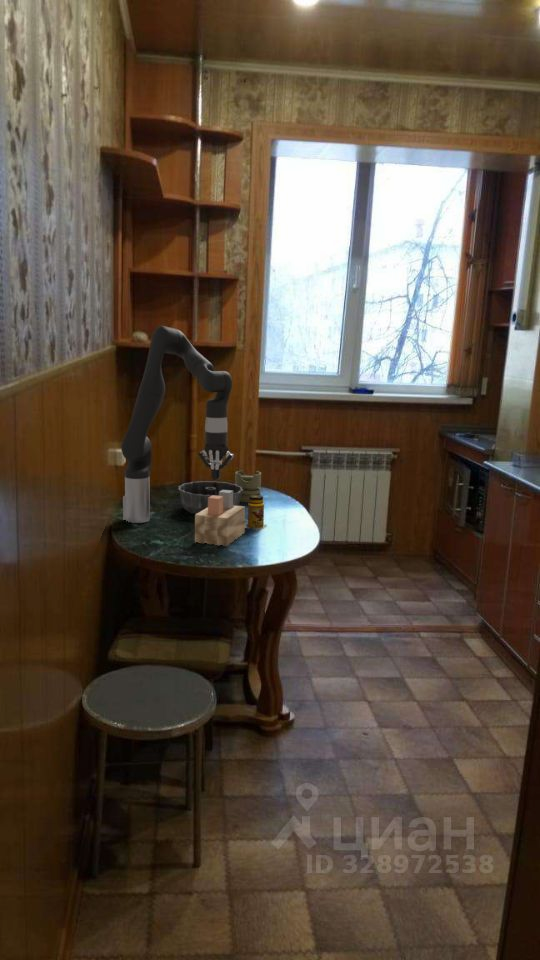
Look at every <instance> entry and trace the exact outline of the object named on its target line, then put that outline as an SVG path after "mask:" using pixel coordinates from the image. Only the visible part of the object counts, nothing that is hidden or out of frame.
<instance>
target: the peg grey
mask: <svg viewBox="0 0 540 960" xmlns="http://www.w3.org/2000/svg"><path fill="white" fill-rule="evenodd" d="M219 496H223V509H229V510H230V509H231V508H233V491H231V490H222V491H220V492H219Z"/></svg>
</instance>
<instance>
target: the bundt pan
mask: <svg viewBox="0 0 540 960" xmlns="http://www.w3.org/2000/svg"><path fill="white" fill-rule="evenodd" d="M222 490H231V491H233V505H235V506H240V503H241V502H240V498H241V493H242V492H243V490H242V487H240V486H237V485H236V484H235V483H230V482H225V481H217V480H213V481H207V480H205V481H203V480H201V481H191V482H186V483H182V484H181V485H178V491H179V495H180V496H179V497H180V503H181V506H182V508H183V509H184V510H185V511H187V512H189V513H190V514H193V515H194V514H197V513H199V512H201V511H202V510H204V509H206V508H208V498H209V497H210V496H212V495H214V496H219V492H220V491H222Z"/></svg>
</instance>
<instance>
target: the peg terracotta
mask: <svg viewBox="0 0 540 960" xmlns="http://www.w3.org/2000/svg"><path fill="white" fill-rule="evenodd" d="M222 514H223V496H214V495H212V496H210V497H209V498H208V515H214V516H220V515H222Z"/></svg>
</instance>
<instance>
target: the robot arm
mask: <svg viewBox="0 0 540 960" xmlns="http://www.w3.org/2000/svg"><path fill="white" fill-rule="evenodd" d="M147 354H148V355H147V361H146V364H145V367H144V368H145V369H144V372H143V377H142V380H141V383H140V385H139V389H138V393H137V397H136V401H135V404H134V406H133V407H134V408H133V411H132V415H131V419H130V423H129V425H128V428H127V431H126V433H125V435H124V436H123V437H124V438H123V439H122V442H121V443H122V444H121V449H120V450H121V453H122V456H123V457H124V458H125V459H126V460H127V461H128V463H127V466H126V468H125V469H124V495H123V496H122V513H123V516H122V519H123V520H126V521H125V522H127V521H128V522H127V523H130V522H131V524H141V523H147V522H149V521H150V517H151V516H150V515H151V513H150V511H151V509H150V508H151V506H150V505H151V504H150V498H151V497H150V494H151V493H150V492H151V491H150V485H151V484H150V474H151V472H150V471H151V469H152V457H153V456H152V452H153V450H152V449H153V447H152V443H151V440H150V439H149V437H148V436H147V435H148V432H149V428H150V426H151V424H152V423H153V421H154V419H155V418H156V416H157V414H158V412H159V410H160V408H161V406H162V403H163V401H164V396H165V393H166V384H165V380H164V376H163V372H162V371H163V370H162V363H163V358H164V354H168V355H169V354H170V355H176V356H177V357H180V358H181V359H182V360H183V362H184V363H183V364H184V366H185V368H186V369H187V370H188V372H190V374H192V375H193V376H194V377H195V378H196V379H197V382H198V383H199V385H200V387H201V389H202V390H204V391H205V392H208V393H216V394H215V397H213V398H211V399H208V400H207V401H206V405H205V424H204V425H205V426H204V433H205V435H204V436H205V438H204V439H205V440H204V443H205V445H204V448H203V450H202V451H200V452H198V456H199V458H200V459H201V461H202V462H203V464H204V465H205V467H206V468H209V469H211V479H212V480H213V481H219V480H220V479H221V477H222V475H221V472H222V469H224V468H226V467H227V466H228V464H230V462H231V461H232V459H234V457H235V454H234V453H231V452H230V451H229V447H228V403H229V399H230V395H231V391H232V389H233V379H232V376H231V374H230V373H229V372H228V371H226V370H217V371H216V370H215V367H214V365H213V364H212V362H210V361H209V360H208V359H207V358H206V357H204V356H203V355H202V354H201V353H200V352H199V351H198V350H197V349H196V348H195V347H194V346H193V345H192V343H191V342H190V341H189V339H188V338H187V337H186V335H185V334H184V333H183V332H182V331H181V330H179V329H177V328H173V327H168V326H165V325H159V326H157V327H156V328H155V329H154V330H153V333H152V335H151V339H150V343H149V350H148V353H147ZM224 458H225V459H224ZM223 459H224V461H223Z"/></svg>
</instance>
